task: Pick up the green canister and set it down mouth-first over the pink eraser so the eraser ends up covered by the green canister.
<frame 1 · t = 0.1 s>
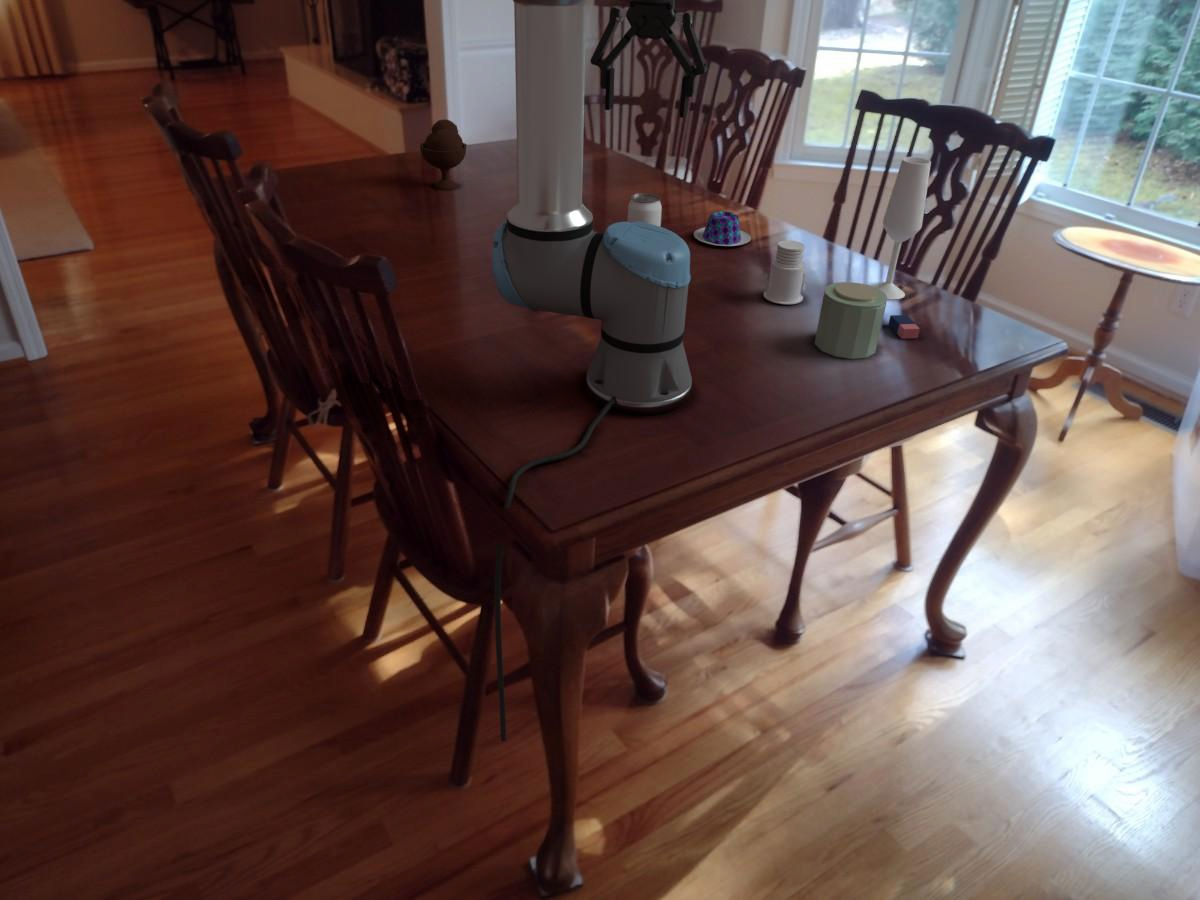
hand: (645, 112, 154), 28 cm above the table, tool pointing down, fingers open, 13 cm apart
eraser: (902, 331, 147), on the table
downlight: (782, 299, 157), on the table
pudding: (721, 240, 183), on the table
champagne flute: (886, 293, 161), on the table
green canister: (845, 345, 141), on the table
ice cream bowl: (446, 187, 208), on the table
can: (641, 259, 172), on the table
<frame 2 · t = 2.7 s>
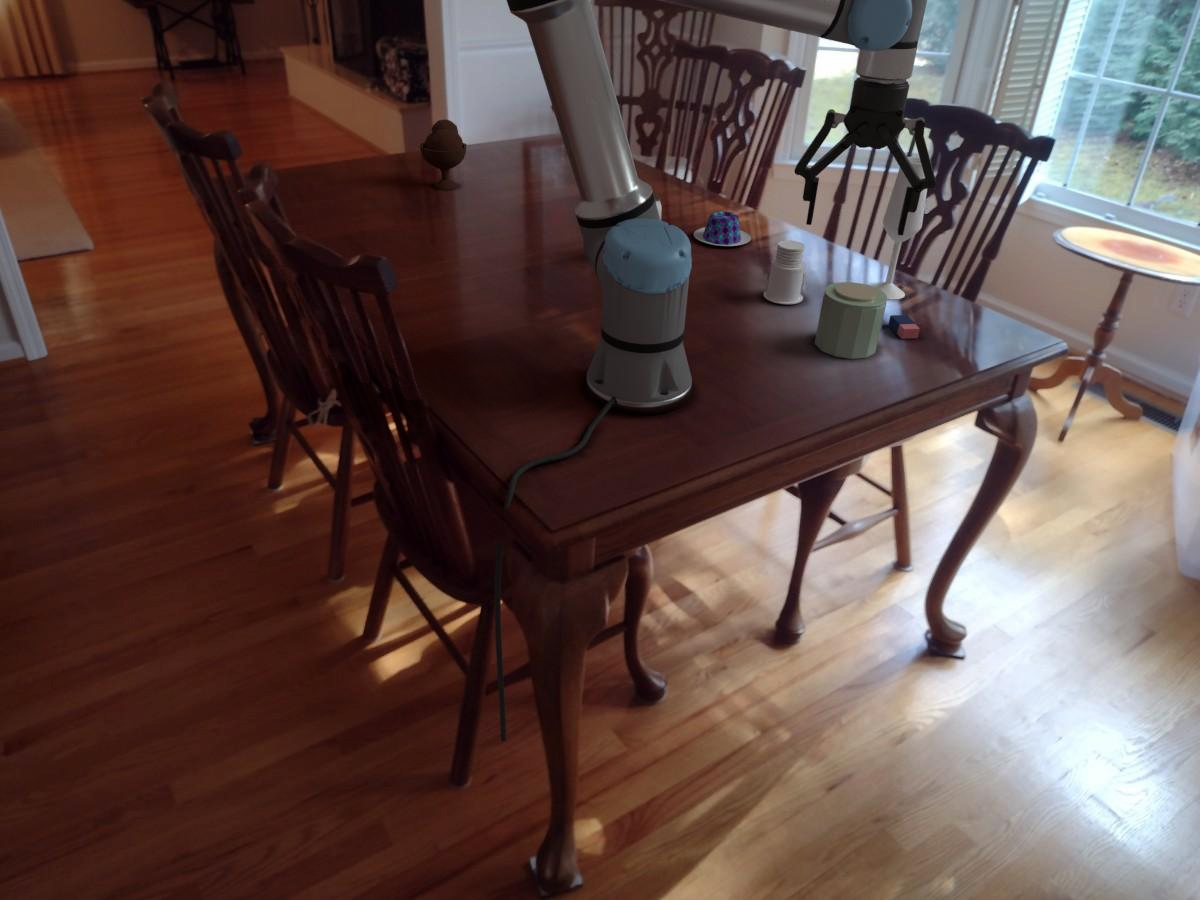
hand: (854, 227, 133), 19 cm above the table, tool pointing down, fingers open, 13 cm apart
nothing on the table moved.
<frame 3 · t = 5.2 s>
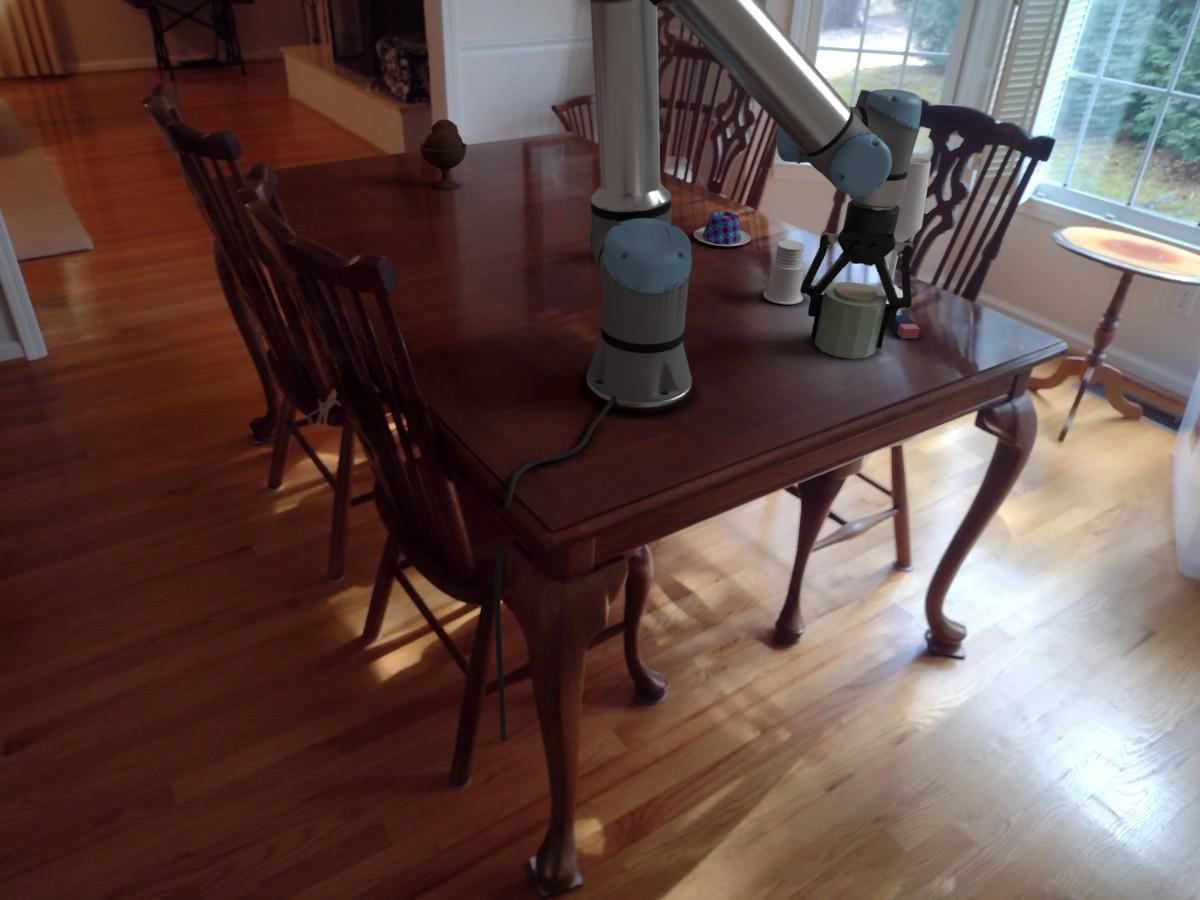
hand: (846, 339, 141), 1 cm above the table, tool pointing down, fingers closed on green canister, 10 cm apart
green canister: (844, 345, 141), on the table, touching gripper
everything else where it was.
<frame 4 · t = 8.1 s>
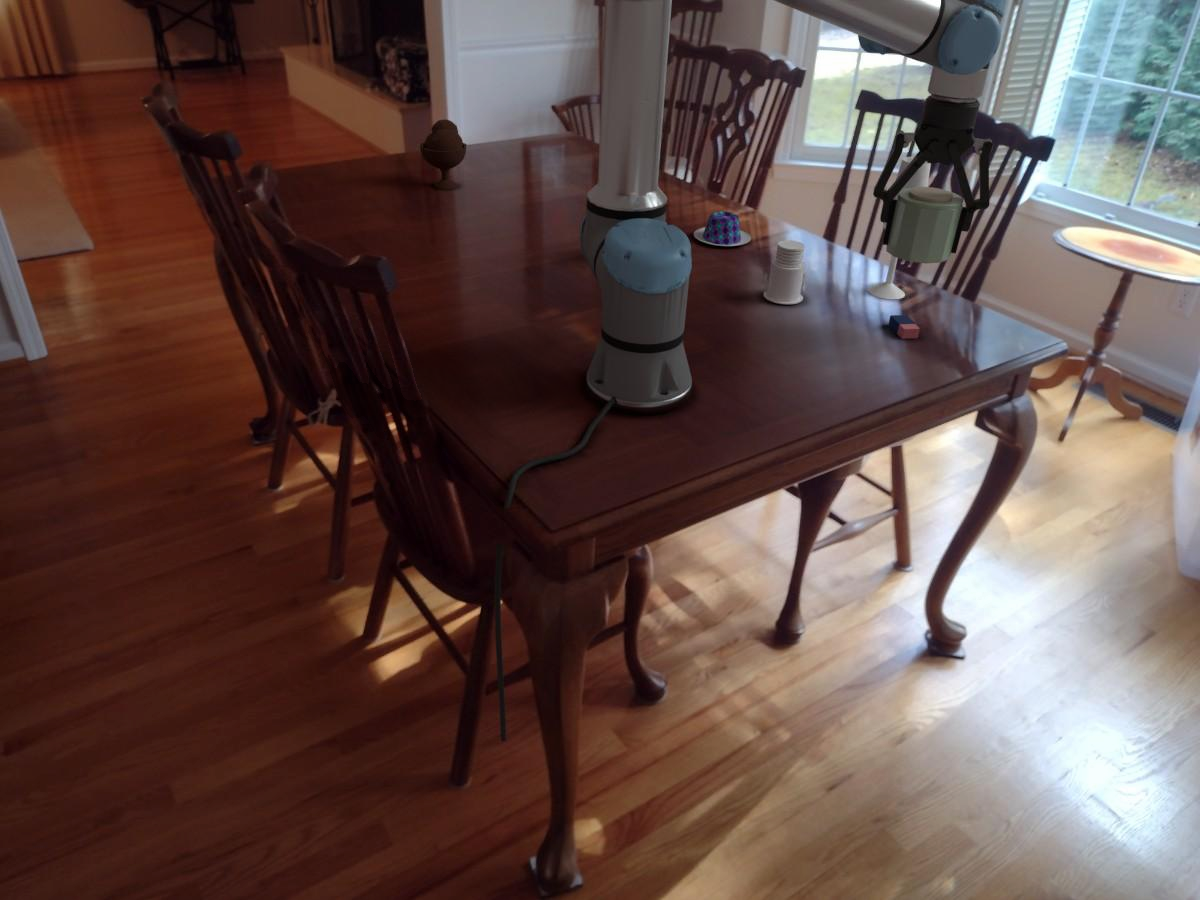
hand: (918, 246, 138), 15 cm above the table, tool pointing down, fingers closed on green canister, 10 cm apart
green canister: (917, 252, 138), point 14 cm above the table, touching gripper
everything else where it was.
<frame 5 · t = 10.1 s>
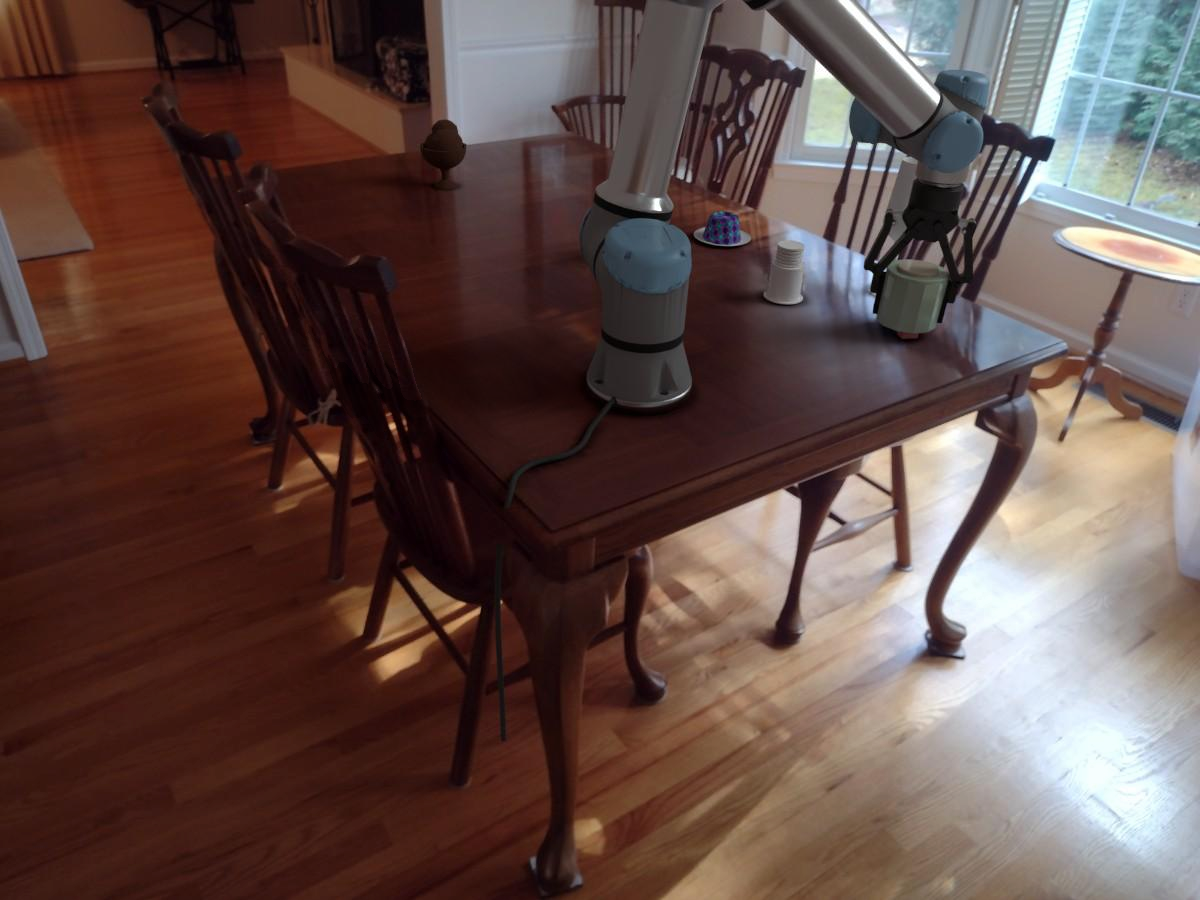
hand: (906, 315, 145), 3 cm above the table, tool pointing down, fingers closed on green canister, 10 cm apart
green canister: (905, 320, 146), point 2 cm above the table, touching gripper
everything else where it was.
when the fingers open (1 cm above the table, at t = 11.2 s): green canister stays where it is, on the table.
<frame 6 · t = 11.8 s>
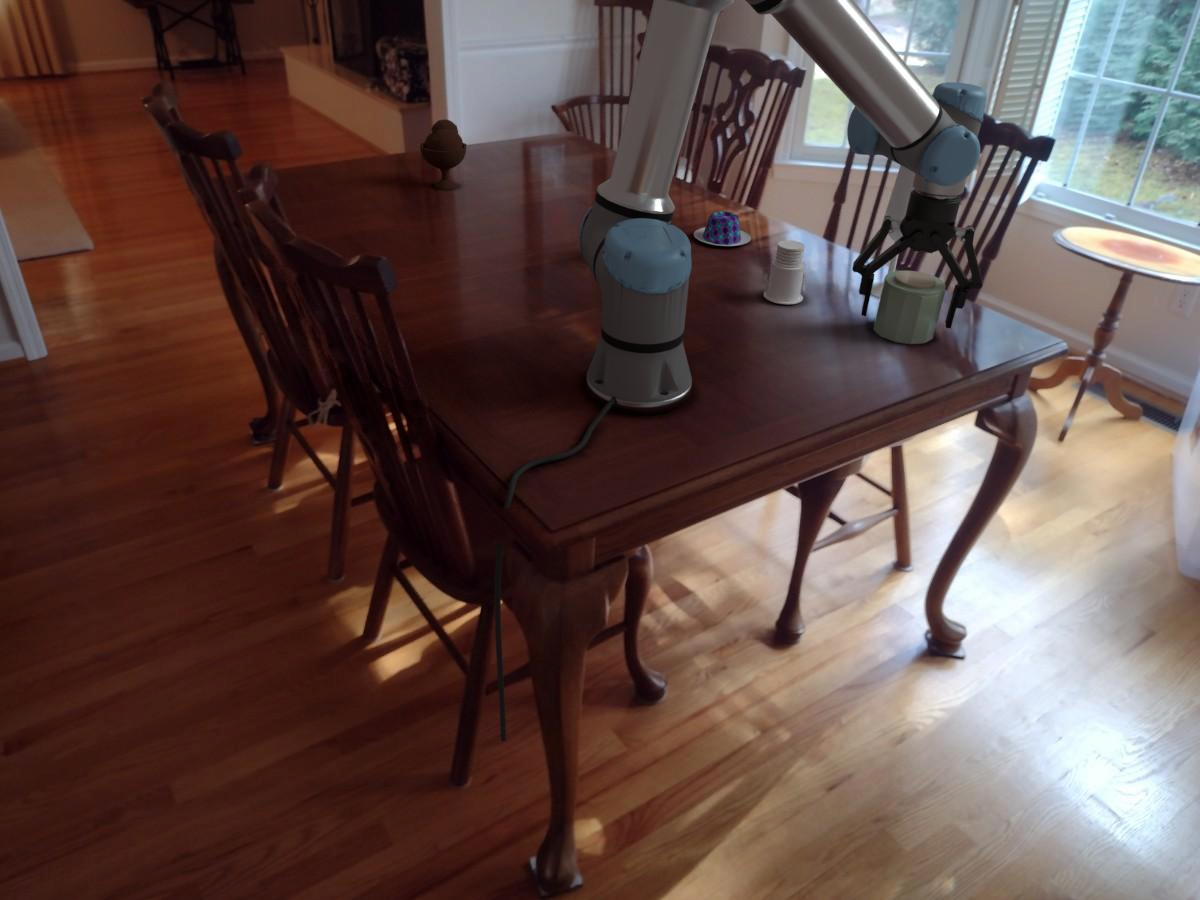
hand: (905, 318, 145), 2 cm above the table, tool pointing down, fingers open, 13 cm apart
green canister: (902, 331, 147), on the table
everything else where it was.
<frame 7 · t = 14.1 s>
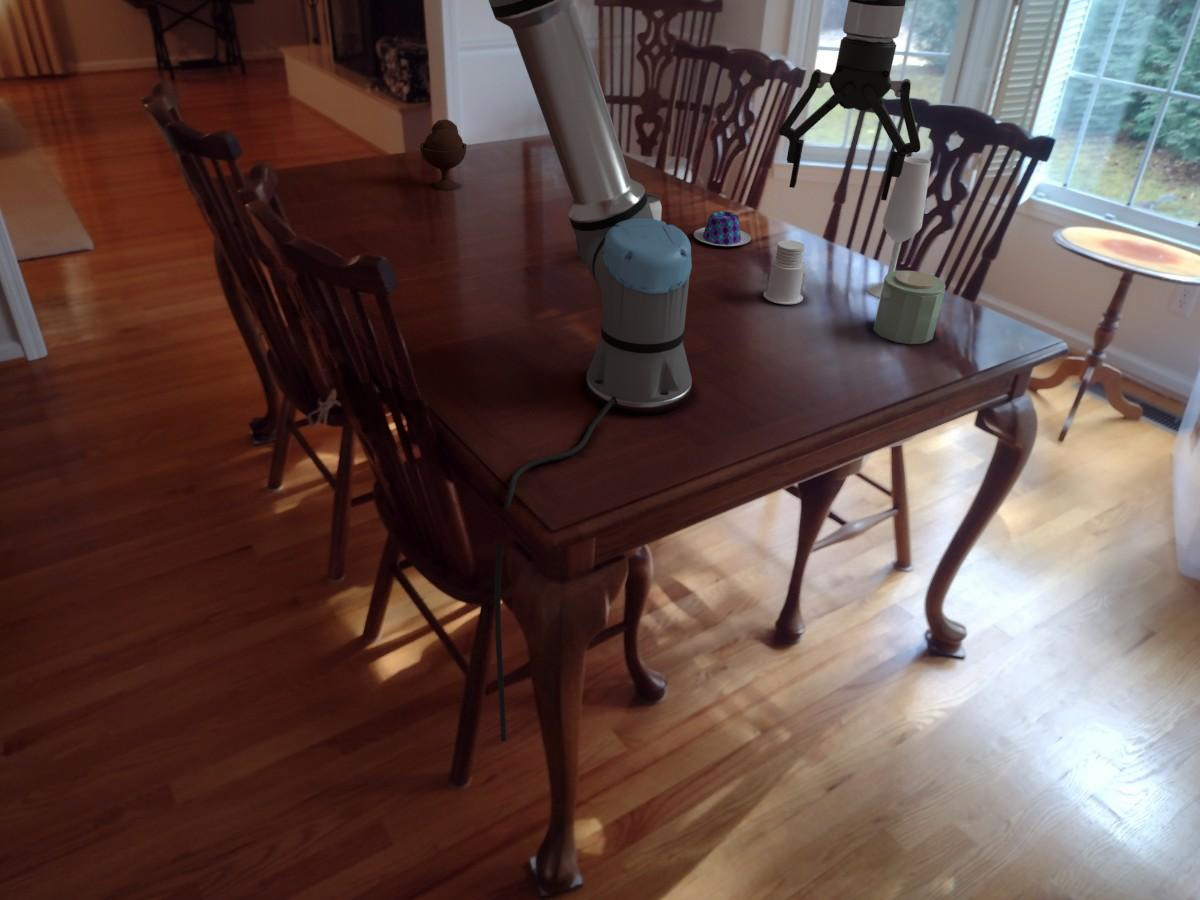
hand: (837, 191, 131), 24 cm above the table, tool pointing down, fingers open, 13 cm apart
nothing on the table moved.
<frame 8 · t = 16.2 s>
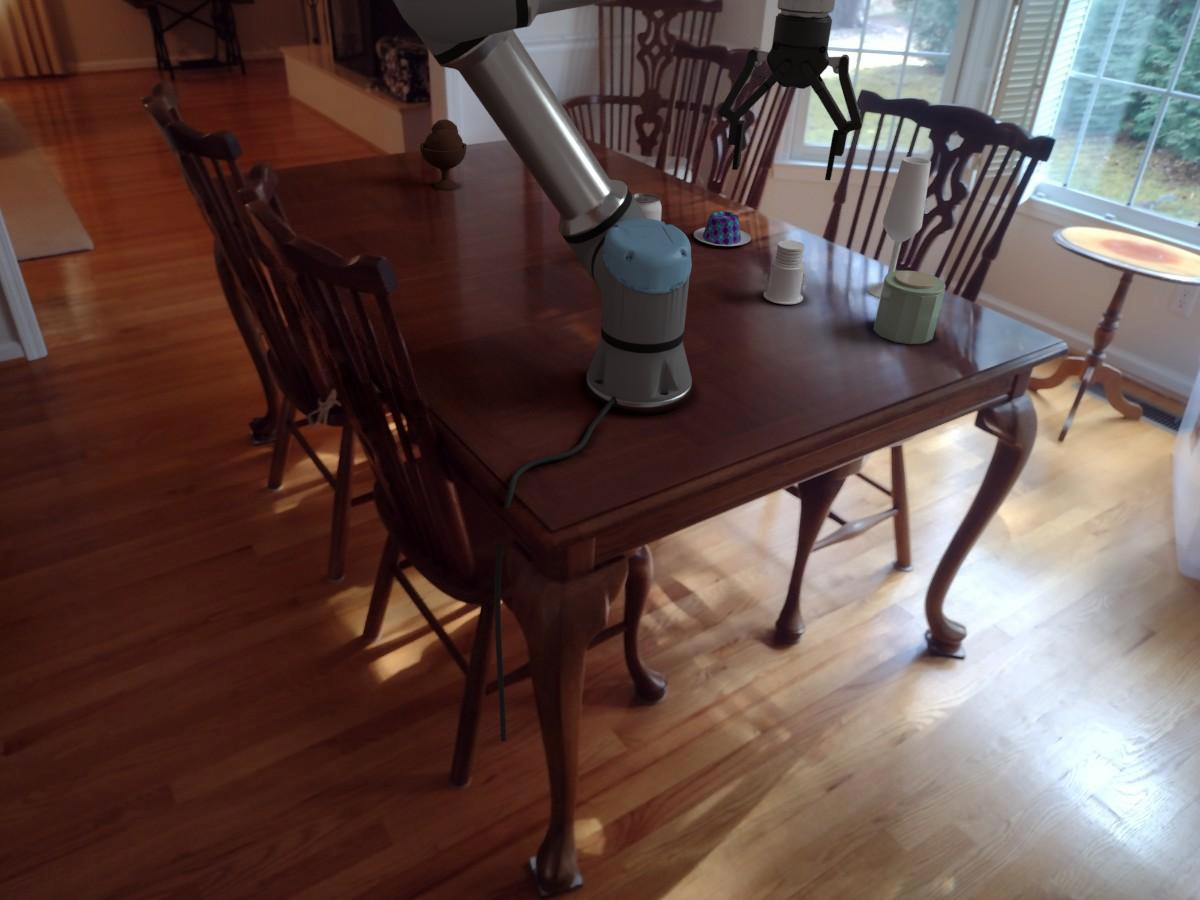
hand: (781, 173, 128), 27 cm above the table, tool pointing down, fingers open, 13 cm apart
nothing on the table moved.
at the end: green canister 0.1 cm from the eraser (horizontally); green canister on the table; green canister tilted 0° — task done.
